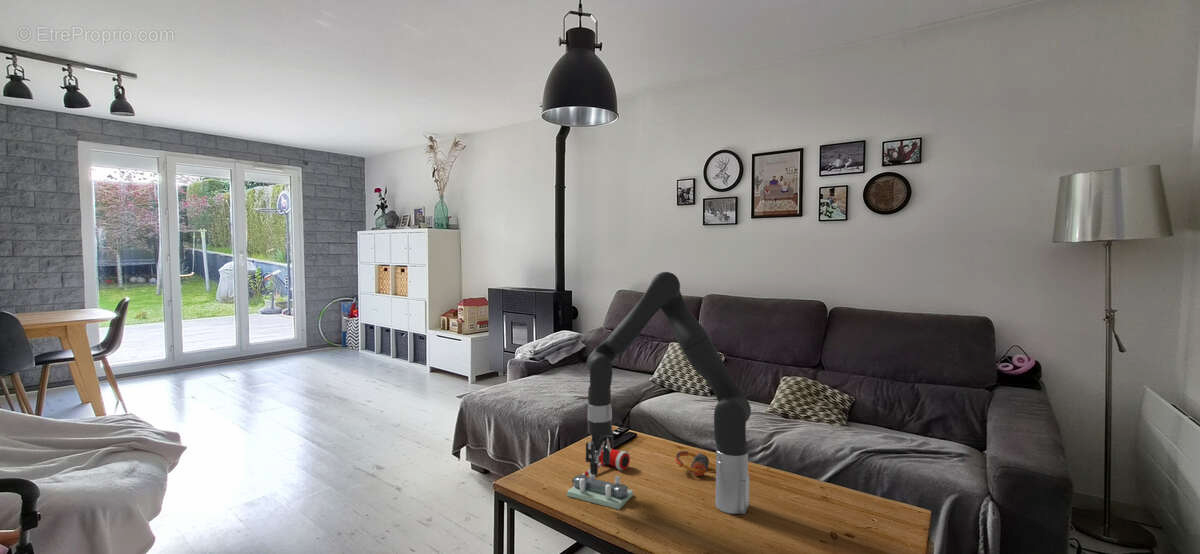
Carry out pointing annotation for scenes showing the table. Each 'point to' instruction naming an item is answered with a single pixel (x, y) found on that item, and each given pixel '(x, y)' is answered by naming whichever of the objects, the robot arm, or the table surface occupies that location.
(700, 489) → the table surface
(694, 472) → the headphones
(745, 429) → the robot arm
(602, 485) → the grey ball-ended rod
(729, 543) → the table surface
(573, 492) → the tool rack
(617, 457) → the toy hammer
